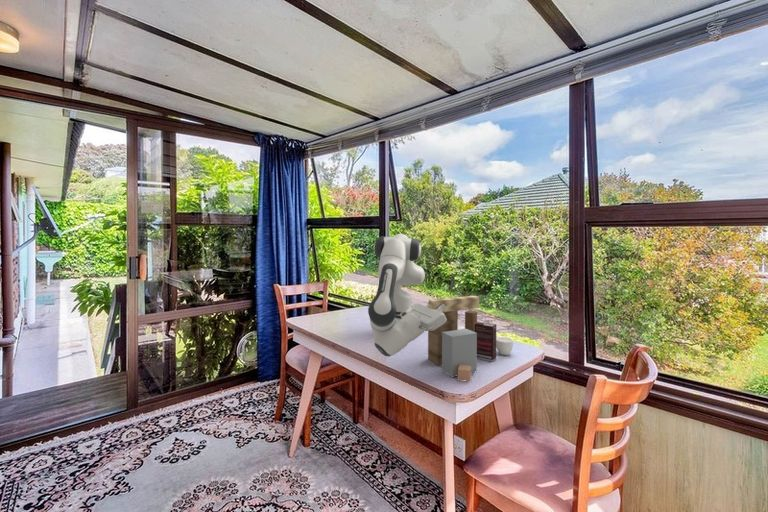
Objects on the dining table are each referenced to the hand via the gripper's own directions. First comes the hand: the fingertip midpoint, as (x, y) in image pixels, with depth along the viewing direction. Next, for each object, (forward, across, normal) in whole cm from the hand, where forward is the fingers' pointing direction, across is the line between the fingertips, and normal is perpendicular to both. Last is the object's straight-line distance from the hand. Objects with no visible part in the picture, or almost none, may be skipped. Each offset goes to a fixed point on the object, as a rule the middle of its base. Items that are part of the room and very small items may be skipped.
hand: (440, 304), depth 130 cm
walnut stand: (-6, +12, +29) cm, 32 cm away
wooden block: (+12, +20, +40) cm, 46 cm away
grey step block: (-6, 0, +29) cm, 30 cm away
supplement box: (+10, +6, +39) cm, 41 cm away
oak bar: (+4, 0, +6) cm, 7 cm away
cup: (+21, +8, +45) cm, 51 cm away
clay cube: (-8, -6, +28) cm, 30 cm away
